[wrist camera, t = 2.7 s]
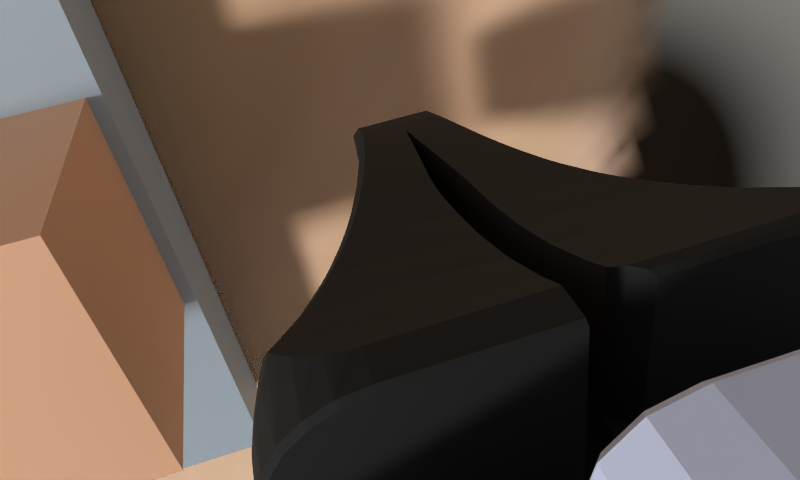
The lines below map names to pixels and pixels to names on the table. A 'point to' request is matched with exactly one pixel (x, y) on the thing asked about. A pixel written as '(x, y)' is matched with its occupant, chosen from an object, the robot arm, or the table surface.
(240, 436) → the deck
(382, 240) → the robot arm
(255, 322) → the table surface
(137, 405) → the block
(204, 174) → the table surface
